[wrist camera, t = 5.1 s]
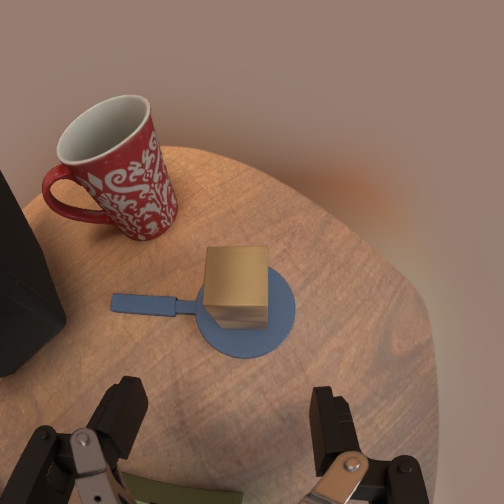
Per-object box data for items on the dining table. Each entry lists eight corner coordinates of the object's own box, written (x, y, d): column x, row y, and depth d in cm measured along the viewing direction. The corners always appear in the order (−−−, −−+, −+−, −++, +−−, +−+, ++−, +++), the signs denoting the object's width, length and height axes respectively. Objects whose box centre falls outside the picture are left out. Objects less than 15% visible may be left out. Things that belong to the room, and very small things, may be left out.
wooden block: (267, 286, 26) (267, 245, 18) (267, 329, 24) (267, 305, 17) (223, 286, 26) (207, 246, 19) (221, 329, 24) (201, 304, 17)
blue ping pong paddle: (293, 264, 27) (293, 261, 27) (295, 358, 23) (296, 357, 23) (121, 263, 28) (118, 260, 28) (108, 346, 24) (104, 345, 24)
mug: (172, 171, 34) (139, 82, 21) (198, 223, 30) (162, 125, 18) (86, 217, 31) (28, 145, 19) (98, 276, 28) (20, 208, 16)
